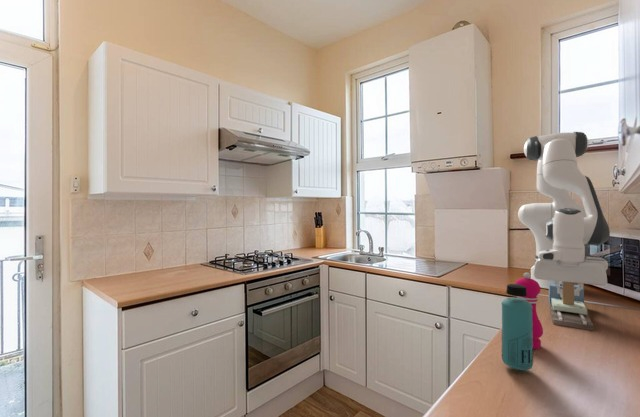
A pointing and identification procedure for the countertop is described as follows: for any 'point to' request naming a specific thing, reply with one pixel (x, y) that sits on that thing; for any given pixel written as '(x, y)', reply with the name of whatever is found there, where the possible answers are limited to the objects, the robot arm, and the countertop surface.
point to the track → (571, 319)
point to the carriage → (568, 301)
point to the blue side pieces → (554, 294)
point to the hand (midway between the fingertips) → (568, 294)
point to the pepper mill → (532, 298)
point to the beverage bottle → (517, 329)
